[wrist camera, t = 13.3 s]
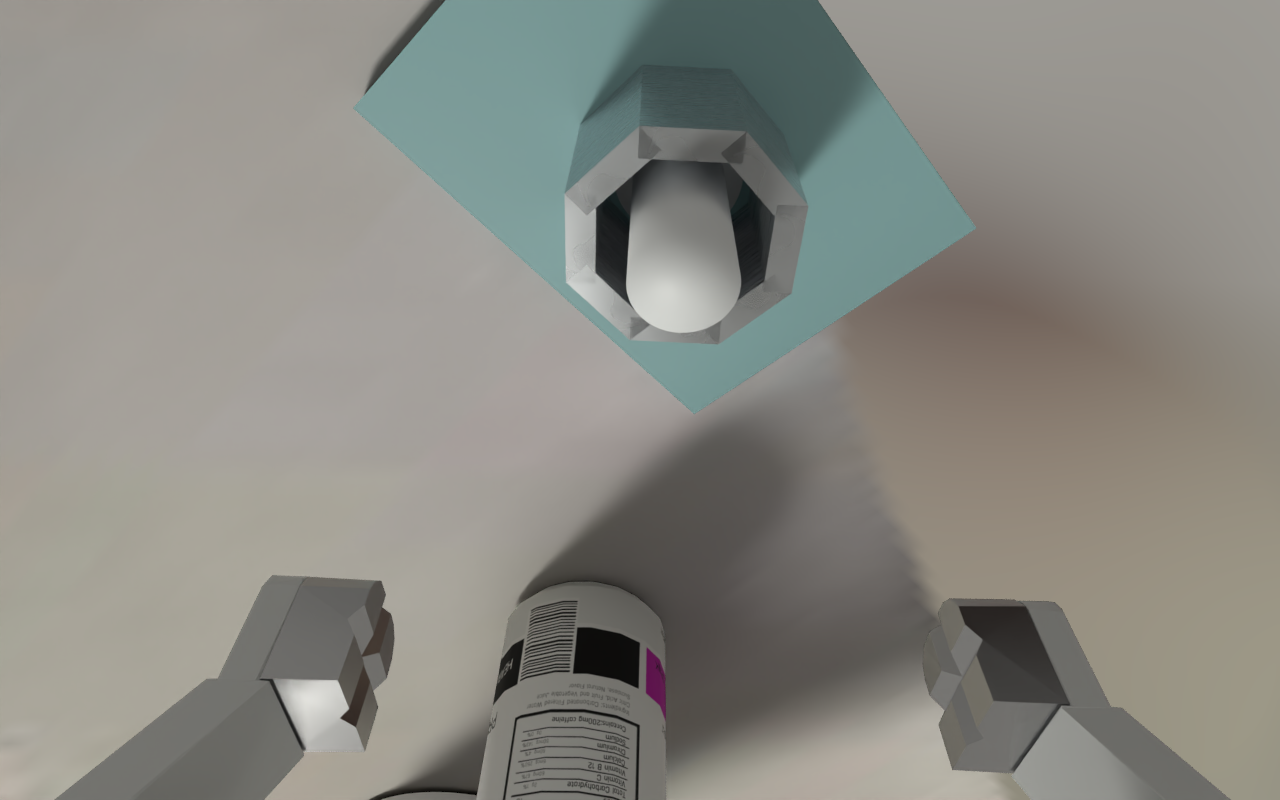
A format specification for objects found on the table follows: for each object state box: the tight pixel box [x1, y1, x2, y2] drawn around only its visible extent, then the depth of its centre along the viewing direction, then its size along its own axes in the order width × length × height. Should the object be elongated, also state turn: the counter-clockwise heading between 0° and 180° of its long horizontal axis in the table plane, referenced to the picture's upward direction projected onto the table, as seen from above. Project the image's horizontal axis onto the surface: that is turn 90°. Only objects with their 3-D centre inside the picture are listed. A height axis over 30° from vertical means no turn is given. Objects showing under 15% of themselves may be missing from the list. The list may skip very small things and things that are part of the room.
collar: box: [565, 65, 808, 344], centre depth 22 cm, size 6×6×5 cm
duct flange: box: [354, 0, 976, 414], centre depth 22 cm, size 16×12×8 cm
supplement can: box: [476, 582, 666, 800], centre depth 35 cm, size 8×8×15 cm
